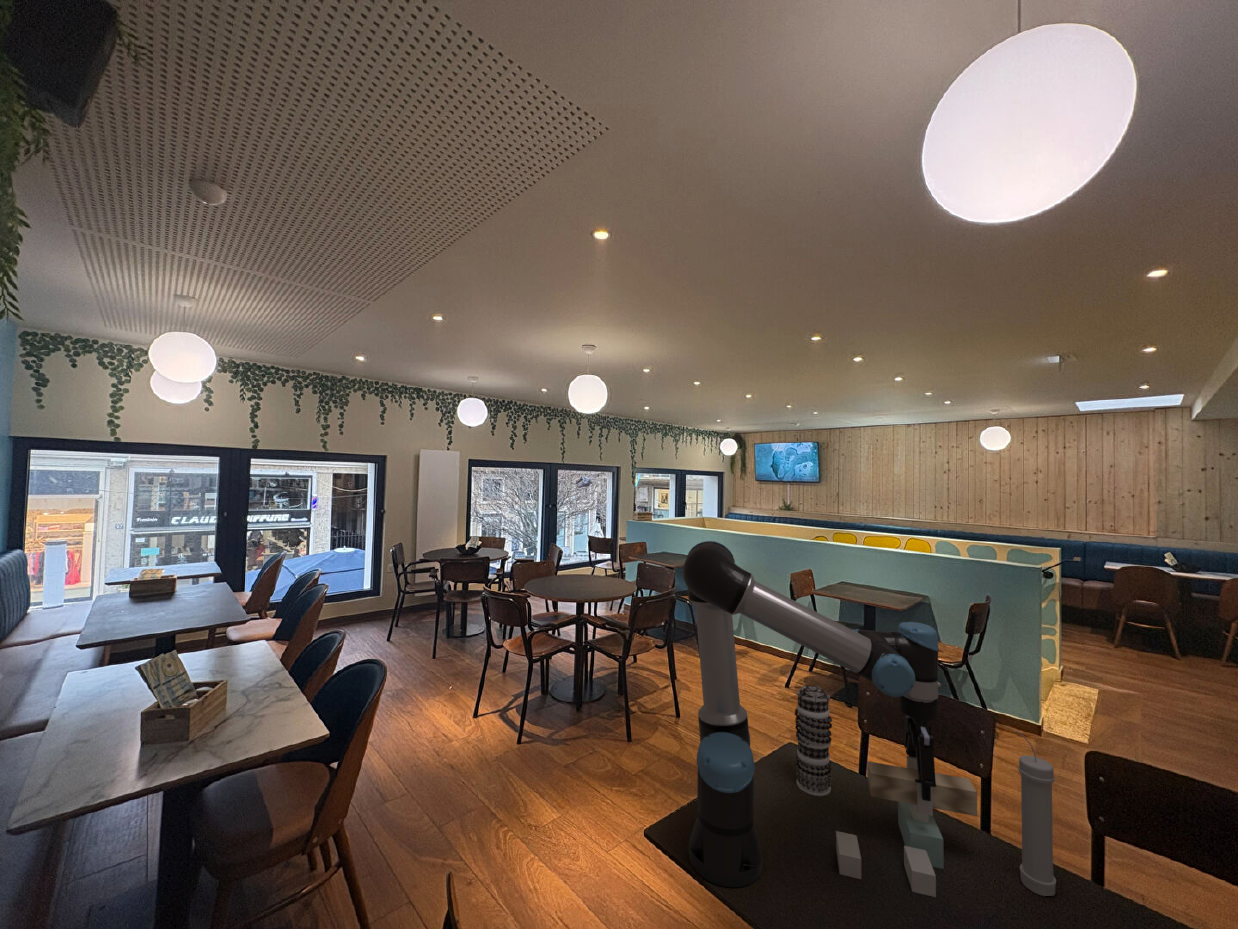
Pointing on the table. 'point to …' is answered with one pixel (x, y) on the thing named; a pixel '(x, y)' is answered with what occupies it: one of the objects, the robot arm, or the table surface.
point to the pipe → (1037, 824)
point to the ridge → (921, 832)
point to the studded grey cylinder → (813, 741)
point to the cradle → (914, 863)
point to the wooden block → (903, 788)
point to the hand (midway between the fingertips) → (919, 799)
